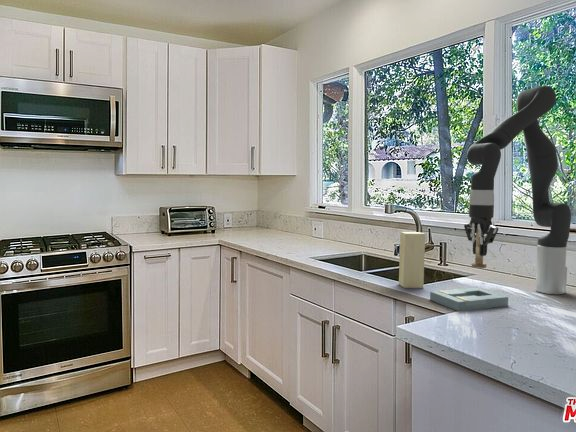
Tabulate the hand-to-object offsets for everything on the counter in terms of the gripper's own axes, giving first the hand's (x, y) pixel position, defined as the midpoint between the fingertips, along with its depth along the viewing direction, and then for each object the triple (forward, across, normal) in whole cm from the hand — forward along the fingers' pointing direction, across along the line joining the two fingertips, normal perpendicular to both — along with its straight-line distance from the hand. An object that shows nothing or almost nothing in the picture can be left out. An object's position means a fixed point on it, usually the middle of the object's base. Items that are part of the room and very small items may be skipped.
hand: (479, 254), depth 148 cm
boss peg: (+4, 0, 0) cm, 4 cm away
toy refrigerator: (+16, +27, +8) cm, 33 cm away
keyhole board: (+16, 0, +4) cm, 17 cm away
